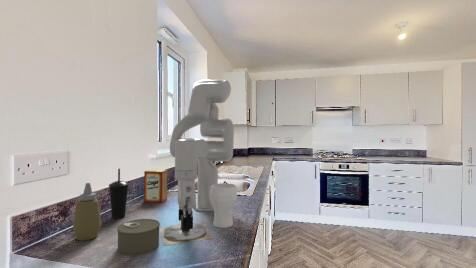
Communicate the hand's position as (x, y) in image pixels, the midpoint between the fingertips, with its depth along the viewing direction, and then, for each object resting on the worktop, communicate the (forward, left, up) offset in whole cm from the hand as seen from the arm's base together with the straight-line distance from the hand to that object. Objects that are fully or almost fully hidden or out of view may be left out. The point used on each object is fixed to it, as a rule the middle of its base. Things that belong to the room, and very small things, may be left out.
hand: (185, 224), depth 87 cm
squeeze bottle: (+31, -8, -4) cm, 32 cm away
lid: (0, 0, -3) cm, 3 cm away
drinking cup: (+23, -28, -4) cm, 36 cm away
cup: (-15, -4, -4) cm, 16 cm away
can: (+15, +6, -4) cm, 16 cm away
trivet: (0, 0, -3) cm, 3 cm away
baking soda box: (+7, -50, -4) cm, 51 cm away
